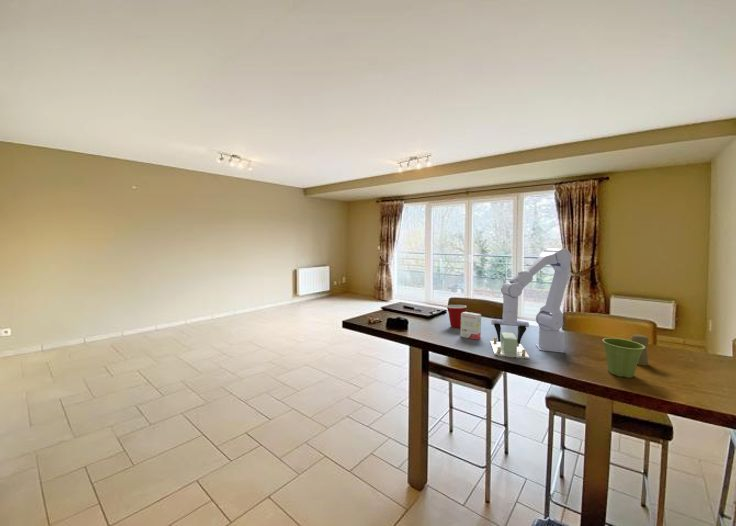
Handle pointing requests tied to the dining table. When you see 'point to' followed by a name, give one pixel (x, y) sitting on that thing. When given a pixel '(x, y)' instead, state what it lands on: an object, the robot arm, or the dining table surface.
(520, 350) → the chassis plate
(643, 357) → the grey upright block
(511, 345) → the board block
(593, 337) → the dining table surface
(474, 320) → the ink box
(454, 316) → the plastic cup
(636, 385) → the dining table surface
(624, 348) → the plant pot
